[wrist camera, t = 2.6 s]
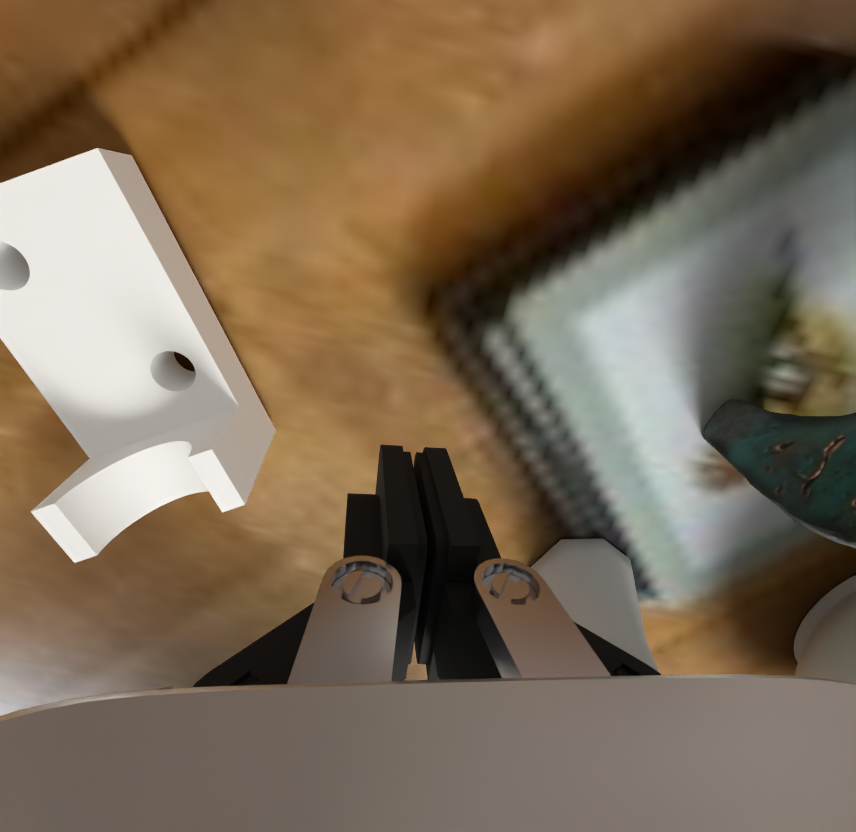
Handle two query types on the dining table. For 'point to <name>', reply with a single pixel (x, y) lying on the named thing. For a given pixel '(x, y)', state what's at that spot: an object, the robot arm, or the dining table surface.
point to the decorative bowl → (829, 636)
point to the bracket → (121, 350)
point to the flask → (597, 591)
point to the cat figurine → (794, 463)
